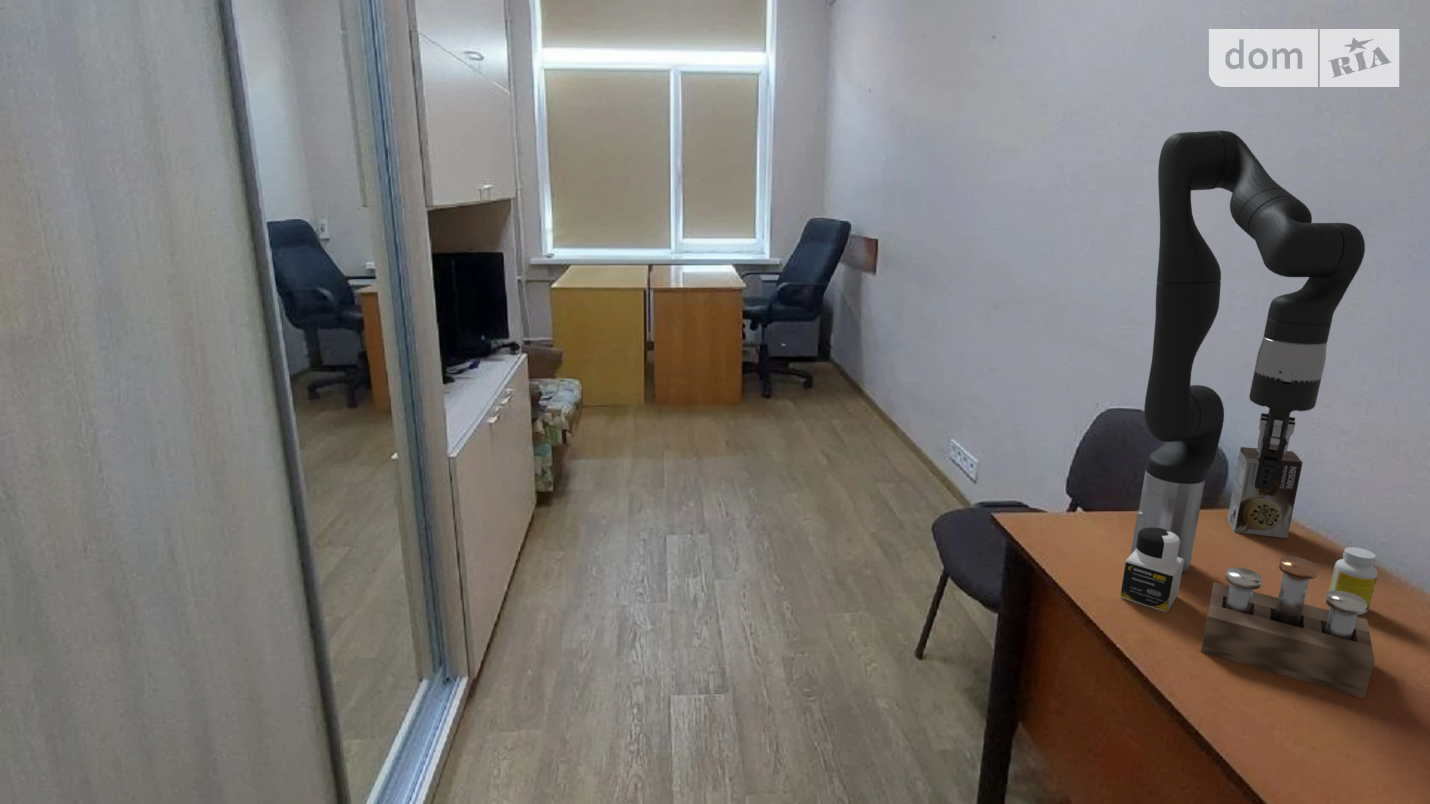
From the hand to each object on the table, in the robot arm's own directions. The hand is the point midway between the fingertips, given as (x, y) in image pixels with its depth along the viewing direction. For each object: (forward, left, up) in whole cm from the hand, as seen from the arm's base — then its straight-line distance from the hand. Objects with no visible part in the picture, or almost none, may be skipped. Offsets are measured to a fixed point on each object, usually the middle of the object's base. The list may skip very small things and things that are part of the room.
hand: (1263, 488), depth 111 cm
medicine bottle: (-12, +7, -25) cm, 29 cm away
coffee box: (+2, +48, -25) cm, 54 cm away
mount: (+6, 0, -25) cm, 26 cm away
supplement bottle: (+15, +22, -25) cm, 37 cm away
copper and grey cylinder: (+6, 0, -20) cm, 21 cm away
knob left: (0, 0, -24) cm, 24 cm away
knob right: (+12, 0, -24) cm, 27 cm away
